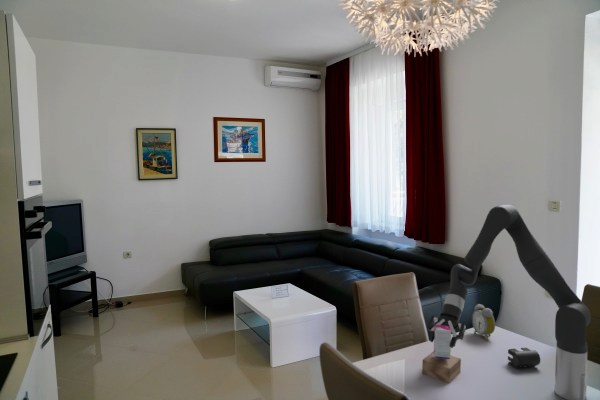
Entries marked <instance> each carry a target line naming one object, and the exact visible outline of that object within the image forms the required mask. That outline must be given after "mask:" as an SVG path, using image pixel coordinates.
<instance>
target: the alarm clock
mask: <svg viewBox="0 0 600 400" xmlns="http://www.w3.org/2000/svg"><path fill="white" fill-rule="evenodd" d="M471 324H472V327H473V331H474V332H473V333H474V334H476V333H477V334H478V335H482V336H484V338H485V340H486V341H488V340H489V338H488V337H491V335H492V334H493V333H494V331H495V329H496V321H495V317H494V311H492V309H491V308H489V307H485V306H484V304H480V303H477V304H476V305H475V306H474V311H473V312H472V315H471Z"/></svg>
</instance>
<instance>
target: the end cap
mask: <svg viewBox="0 0 600 400" xmlns="http://www.w3.org/2000/svg"><path fill="white" fill-rule="evenodd" d="M507 353H508V356H507V362H508V365H510V366H511V367H512V368H514V369H517V368H518V369H519V368H529V367H537V366H539V365H540V363H541V357H540V354H539V352H538V351H537V350H535V349H534V350H533V349H532V350H531V349H529V348H528V347H526V346H525V347H521V348H520V350H517V349H516V348H509V349H507ZM509 355H511V356H509Z"/></svg>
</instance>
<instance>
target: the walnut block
mask: <svg viewBox="0 0 600 400" xmlns="http://www.w3.org/2000/svg"><path fill="white" fill-rule="evenodd" d="M461 362H462V359H461V358H460V357H456V356H454V355H450V359H443V358H435V355H434V350H433V351H432V352H430V353H429V354H428V355H427V356H425V357H424V358H423V359H422V369H421V370H422V371H421V373H422V375H424V376H428V377H430V378H434V379H437V380H439V381H442V382H445V383H448V384H451V382H453V380H454V379H456V378H457V377H458V376H459V375H460V373H462V372H461V370H462V368H461V367H462V366H461V365H462V363H461Z"/></svg>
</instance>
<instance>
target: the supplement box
mask: <svg viewBox="0 0 600 400" xmlns="http://www.w3.org/2000/svg"><path fill="white" fill-rule="evenodd" d="M434 327H435V332H434V340H433V351H434V355H435V358H443V359H450V356H451V351H452V350H451V349H452V348H451V347H450V342H451V339H452V332H451V329H450V327H449V326H445V325H436V324H434Z"/></svg>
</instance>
